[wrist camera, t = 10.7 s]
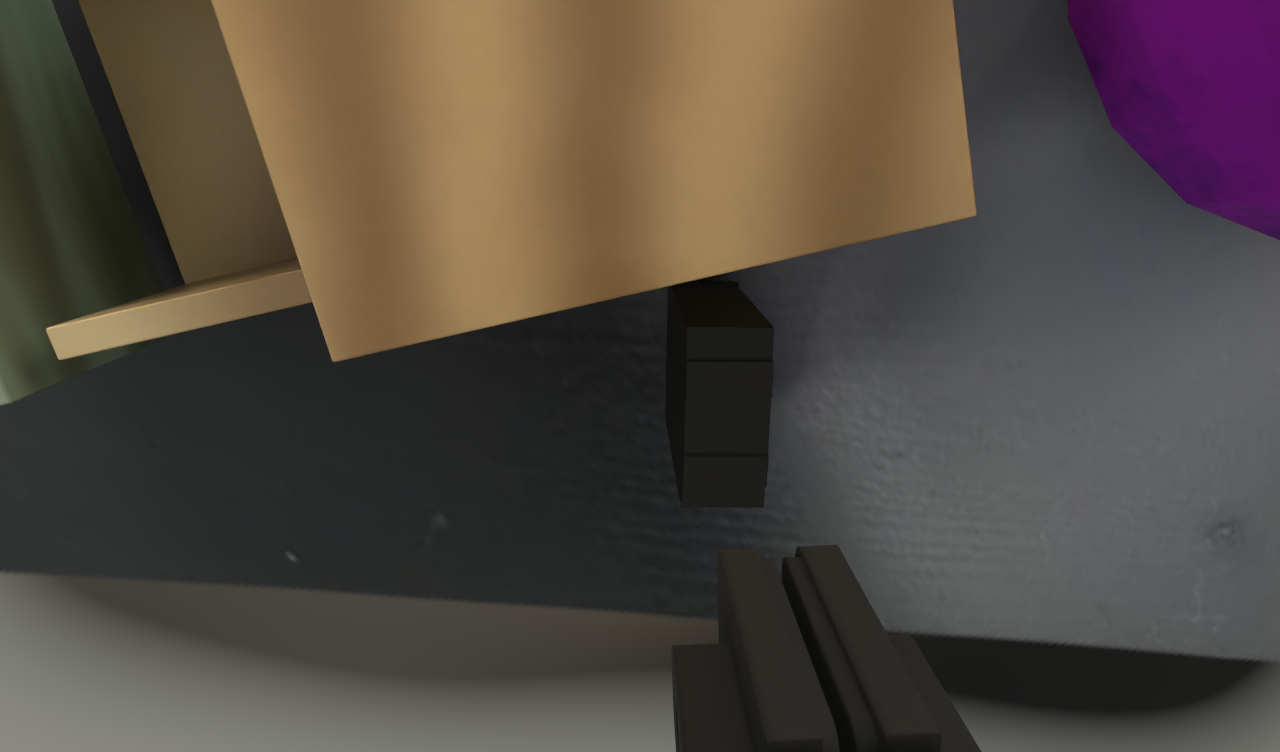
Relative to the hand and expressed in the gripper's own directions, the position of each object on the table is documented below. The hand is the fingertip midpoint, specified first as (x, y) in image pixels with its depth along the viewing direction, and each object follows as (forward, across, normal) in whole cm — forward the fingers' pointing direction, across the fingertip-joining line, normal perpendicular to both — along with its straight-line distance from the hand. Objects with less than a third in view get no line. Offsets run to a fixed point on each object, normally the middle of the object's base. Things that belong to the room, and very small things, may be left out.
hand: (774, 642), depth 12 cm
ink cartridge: (+18, 0, 0) cm, 18 cm away
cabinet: (+17, +2, -10) cm, 20 cm away
